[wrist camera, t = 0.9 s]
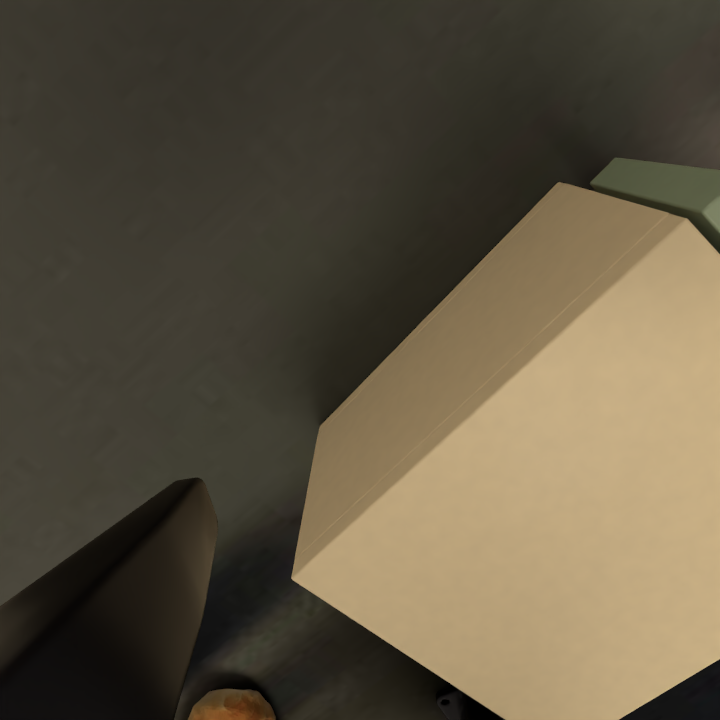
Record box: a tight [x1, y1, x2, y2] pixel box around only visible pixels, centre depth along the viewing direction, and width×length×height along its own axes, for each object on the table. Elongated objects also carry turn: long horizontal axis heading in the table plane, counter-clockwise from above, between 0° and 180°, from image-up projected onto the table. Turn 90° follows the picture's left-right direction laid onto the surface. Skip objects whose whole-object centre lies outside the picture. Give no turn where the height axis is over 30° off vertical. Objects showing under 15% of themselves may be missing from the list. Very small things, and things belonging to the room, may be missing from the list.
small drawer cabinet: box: [291, 182, 720, 720], centre depth 20 cm, size 14×12×9 cm
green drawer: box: [590, 158, 720, 254], centre depth 18 cm, size 18×11×7 cm, turn 139°
